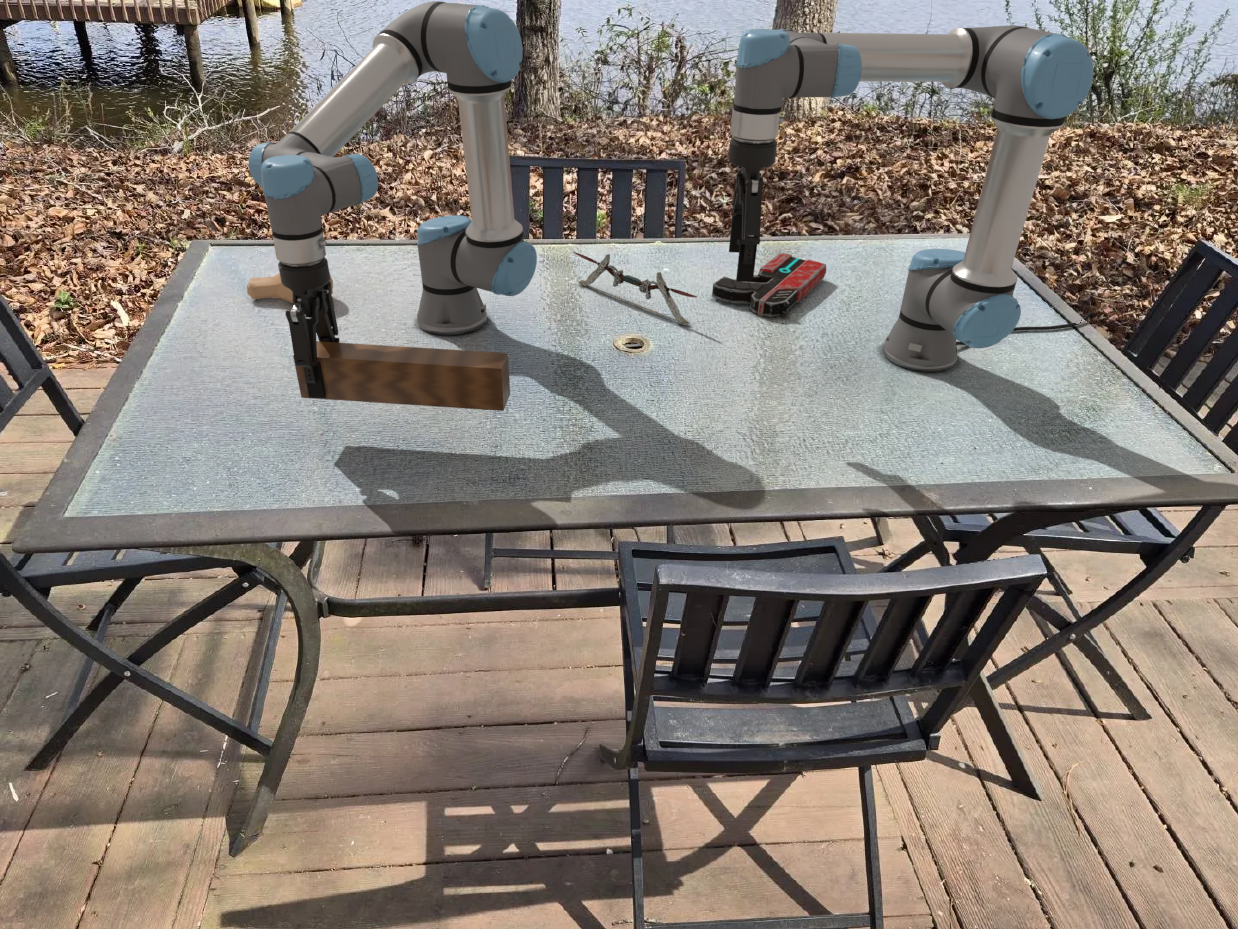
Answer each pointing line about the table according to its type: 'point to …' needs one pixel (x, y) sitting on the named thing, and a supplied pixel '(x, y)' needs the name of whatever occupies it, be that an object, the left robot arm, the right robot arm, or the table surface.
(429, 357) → the bar
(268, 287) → the squash
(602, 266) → the bow
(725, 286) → the gun
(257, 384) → the table surface
